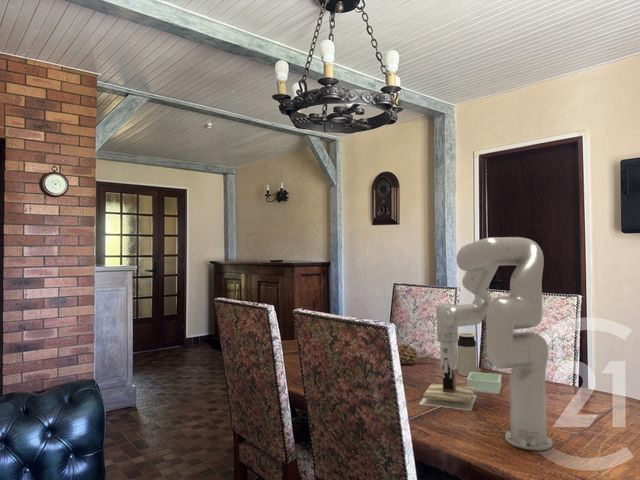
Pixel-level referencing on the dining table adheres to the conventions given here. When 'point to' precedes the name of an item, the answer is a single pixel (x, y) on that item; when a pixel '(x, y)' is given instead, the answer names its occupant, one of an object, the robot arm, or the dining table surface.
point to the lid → (449, 392)
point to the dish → (485, 382)
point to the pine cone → (409, 354)
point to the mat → (449, 403)
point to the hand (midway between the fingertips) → (449, 386)
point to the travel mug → (466, 354)
